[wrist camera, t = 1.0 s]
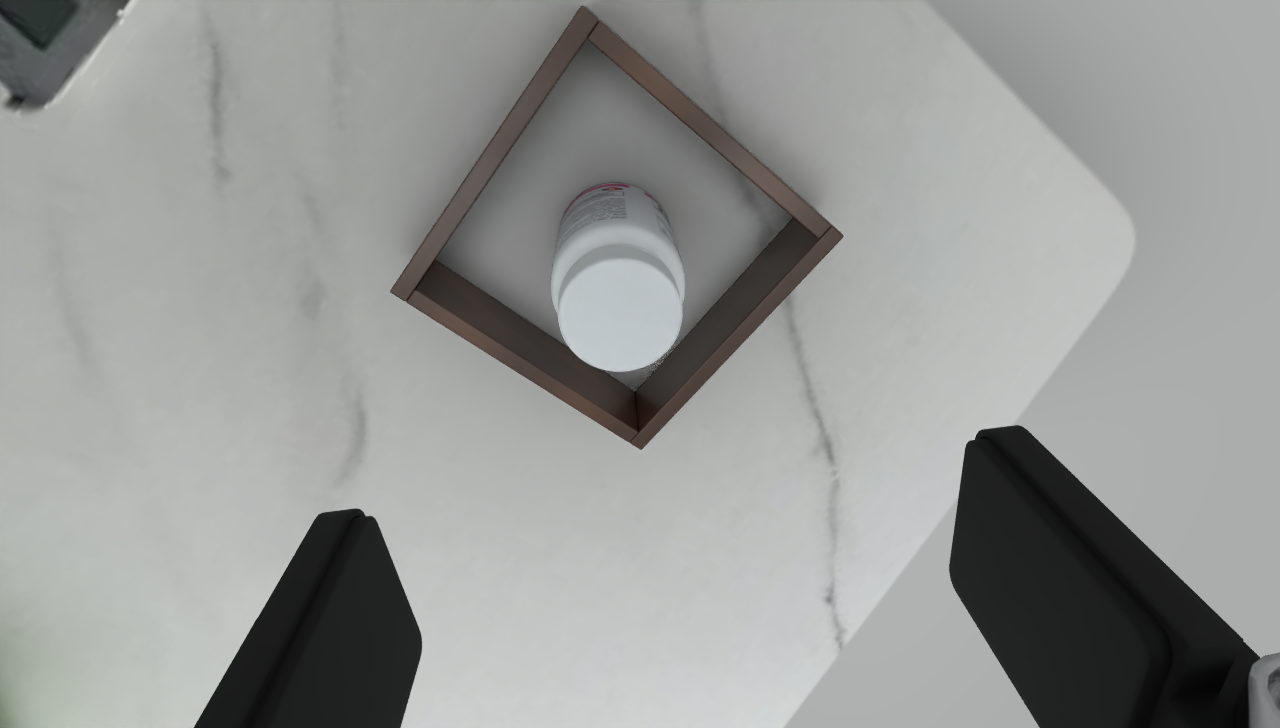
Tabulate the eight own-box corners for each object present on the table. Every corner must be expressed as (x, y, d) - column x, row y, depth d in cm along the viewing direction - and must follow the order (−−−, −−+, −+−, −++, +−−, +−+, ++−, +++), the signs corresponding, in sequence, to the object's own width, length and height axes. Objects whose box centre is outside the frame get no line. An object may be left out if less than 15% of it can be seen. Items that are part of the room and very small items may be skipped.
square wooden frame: (412, 261, 28) (389, 292, 25) (584, 5, 24) (582, 4, 21) (637, 409, 32) (641, 451, 29) (818, 212, 28) (844, 236, 25)
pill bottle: (545, 269, 29) (525, 359, 21) (578, 164, 27) (570, 223, 19) (647, 302, 30) (662, 399, 22) (687, 203, 28) (718, 273, 20)
